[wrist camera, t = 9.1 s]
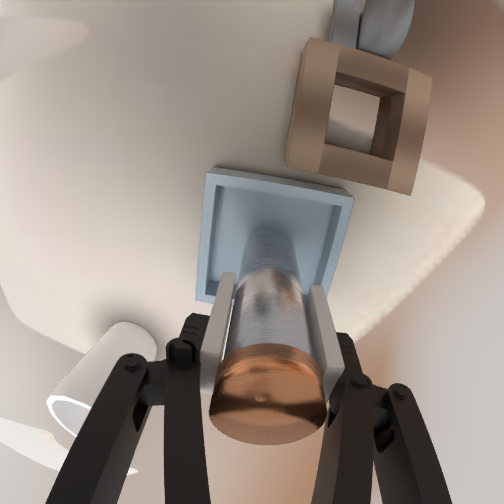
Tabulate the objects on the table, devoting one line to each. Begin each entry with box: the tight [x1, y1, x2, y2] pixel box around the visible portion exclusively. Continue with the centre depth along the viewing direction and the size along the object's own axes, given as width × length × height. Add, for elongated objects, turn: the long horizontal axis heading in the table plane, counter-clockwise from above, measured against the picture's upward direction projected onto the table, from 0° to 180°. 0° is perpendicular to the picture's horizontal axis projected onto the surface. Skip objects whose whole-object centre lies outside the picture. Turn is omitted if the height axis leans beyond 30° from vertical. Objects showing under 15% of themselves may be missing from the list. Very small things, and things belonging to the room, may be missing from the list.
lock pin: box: [209, 228, 327, 445], centre depth 17 cm, size 4×4×15 cm
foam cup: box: [46, 321, 157, 451], centre depth 26 cm, size 10×9×13 cm
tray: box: [195, 167, 354, 307], centre depth 25 cm, size 11×11×3 cm
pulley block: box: [284, 0, 433, 196], centre depth 16 cm, size 17×9×8 cm, turn 171°
